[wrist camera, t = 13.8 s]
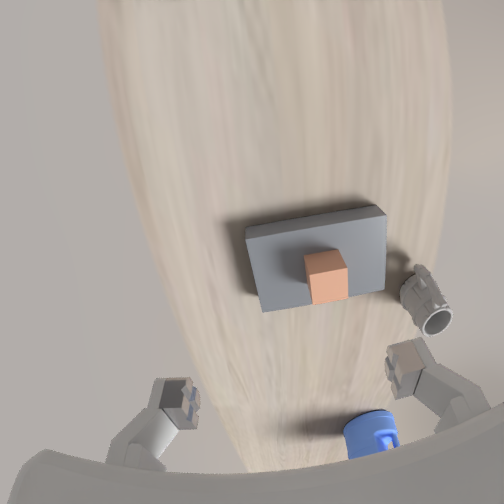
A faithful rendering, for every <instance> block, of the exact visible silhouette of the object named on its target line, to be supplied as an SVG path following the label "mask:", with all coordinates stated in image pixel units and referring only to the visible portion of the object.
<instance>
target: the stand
mask: <svg viewBox="0 0 504 504" xmlns="http://www.w3.org/2000/svg"><path fill="white" fill-rule="evenodd" d="M386 237H387V215H386V214H385V213H384V212H383V211H382V210H381V209H380V208H379V207H378V206H377V205H373V206H367V207H361V208H354V209H348V210H342V211H336V212H330V213H324V214H318V215H312V216H306V217H301V218H295V219H289V220H283V221H278V222H272V223H267V224H261V225H256V226H250V227H246V233H245V241H246V245H247V249H248V253H249V258H250V262H251V266H252V270H253V275H254V279H255V283H256V287H257V291H258V296H259V300H260V304H261V308H262V312H269V311H276V310H282V309H288V308H293V307H299V306H305V305H310V304H312V300H311V296H310V292H309V289H308V285H307V277H306V269H305V261H304V255H308V254H314V253H320V252H325V251H331V250H336V249H338V250H339V252H340V254H341V256H342V258H343V260H344V262H345V264H346V266H347V268H348V297H352V296H357V295H361V294H366V293H371V292H375V291H380V290H384V288H385V271H386Z"/></svg>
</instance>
